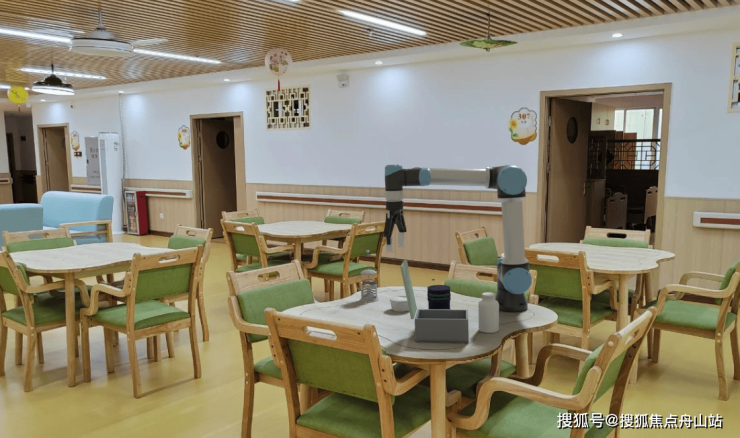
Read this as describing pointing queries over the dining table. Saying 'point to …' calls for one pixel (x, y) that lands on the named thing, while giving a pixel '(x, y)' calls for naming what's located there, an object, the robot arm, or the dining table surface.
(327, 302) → the dining table surface
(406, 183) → the robot arm
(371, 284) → the french press
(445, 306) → the storage jar
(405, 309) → the ramekin
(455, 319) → the storage box
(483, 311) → the pill bottle
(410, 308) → the box lid
